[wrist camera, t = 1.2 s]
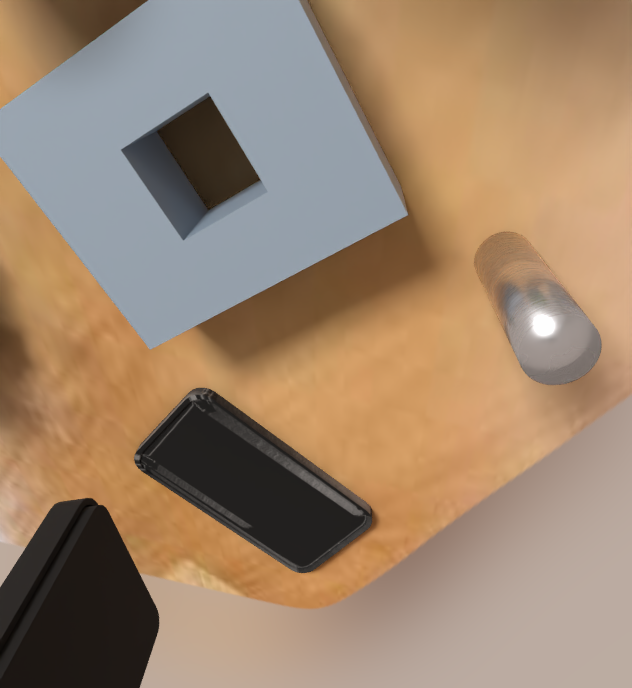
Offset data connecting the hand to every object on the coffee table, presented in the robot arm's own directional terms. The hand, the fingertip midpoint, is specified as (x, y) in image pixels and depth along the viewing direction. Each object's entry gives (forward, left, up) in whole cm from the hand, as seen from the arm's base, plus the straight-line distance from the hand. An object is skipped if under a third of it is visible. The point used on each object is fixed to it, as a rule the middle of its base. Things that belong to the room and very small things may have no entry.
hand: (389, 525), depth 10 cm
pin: (-4, +7, -23) cm, 24 cm away
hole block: (+6, -5, -23) cm, 24 cm away
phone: (+16, +14, -24) cm, 31 cm away
